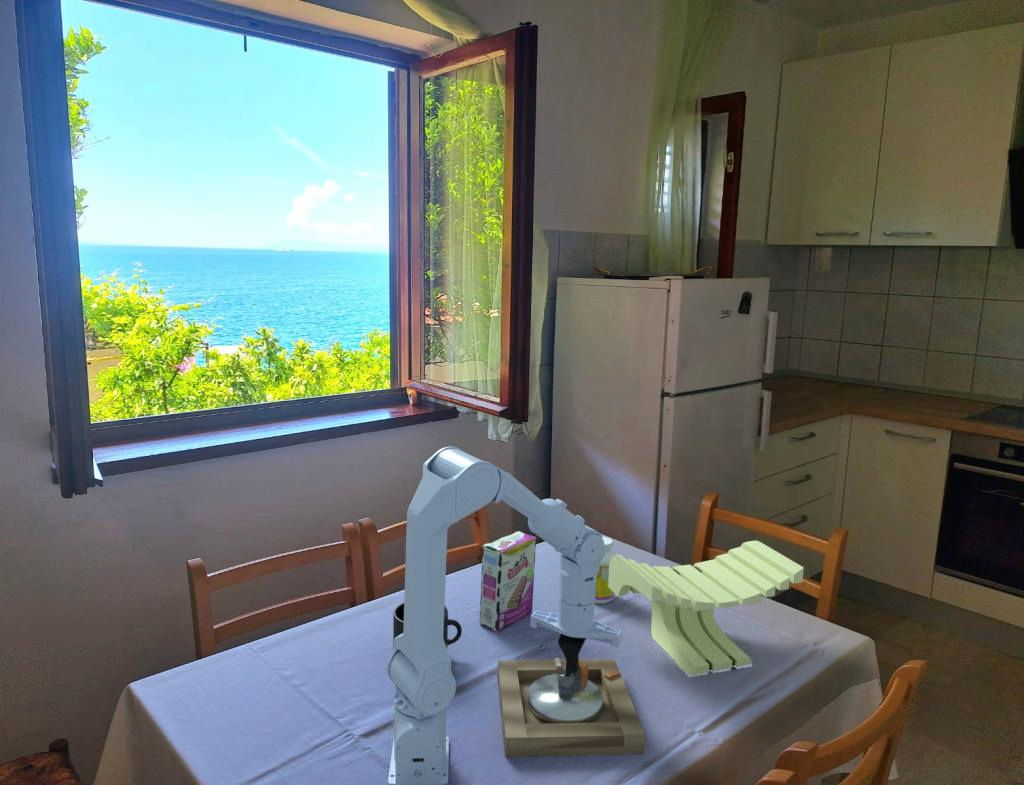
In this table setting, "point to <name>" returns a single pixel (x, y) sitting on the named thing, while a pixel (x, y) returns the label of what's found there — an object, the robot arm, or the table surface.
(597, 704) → the dial
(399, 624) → the mug
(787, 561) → the slatted curved stool
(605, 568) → the supplement bottle
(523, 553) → the candy bar box
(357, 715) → the table surface
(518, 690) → the board
